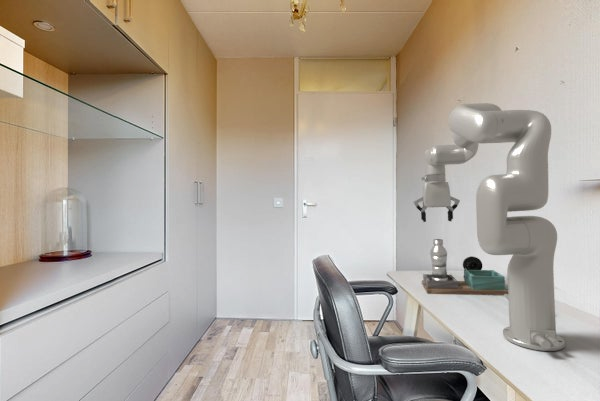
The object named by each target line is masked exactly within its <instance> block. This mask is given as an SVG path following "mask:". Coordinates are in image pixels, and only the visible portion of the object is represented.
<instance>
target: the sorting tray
mask: <svg viewBox="0 0 600 401" xmlns="http://www.w3.org/2000/svg"><path fill="white" fill-rule="evenodd" d="M422 277H423V280H421V284H422V287H423V288H424V290H425V292H426V293H427V295H428V294H429V295H431V294H432V295H434V294H436V295H471V296H474V295H475V296H503V295H504V294H508V289H506V278H505V276H504V275H502V274H501V273H499V272H497V271H496V270H494V269H481V270H464V269H463V279H464V280H457V278H455V277H454V276H453V275H452V274H447V278H448V281H436V280H432V273H431V274H429V273H428V274H423V275H422Z"/></svg>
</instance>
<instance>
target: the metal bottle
mask: <svg viewBox="0 0 600 401" xmlns="http://www.w3.org/2000/svg"><path fill="white" fill-rule="evenodd" d="M432 241H433V242H432V244H433V245H432V248H431V249H430V253H429V254H430V259H431V268H432V272H431V274H432V280H436V281H448V278H447V275H448V271H447V259H448V251H447V249H446V247H444V239H442V238H441V239H440V238H435V239H433V240H432Z"/></svg>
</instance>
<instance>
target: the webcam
mask: <svg viewBox="0 0 600 401" xmlns="http://www.w3.org/2000/svg"><path fill="white" fill-rule="evenodd" d="M462 268H463V271H464V270H483V263H482V261H481V259H480V258H479V257H476V256H468V257H466V258H465V259H464V260H463V262H462Z"/></svg>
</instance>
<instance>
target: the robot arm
mask: <svg viewBox="0 0 600 401" xmlns="http://www.w3.org/2000/svg"><path fill="white" fill-rule="evenodd" d="M447 123H448V127H449V129H450V131H451V132H452V133H451V137H452V140H453V142H454V144H437V145H433V146H432V147H431V148H428V149H426V150H425V151H424V176H422V177H421V181H424V183H423V187H422V197H420V198H418V199H416V200H414V201H413V204H414V205H415V207H416V209H417V210H418V211H419V212H420V214H421V215H420V216H421V217H420V218H421V220H422V222H423V223H427V213H426V210H427V209H428V208H446V209H447V221H448V222H453V219H454V210H456V208H457V207H458V206H459V203H460V202H461V200H460V199H458V198H456V197H453V196H452V195H451V191H450V186H449V185H450V184H449V182H448V181H446V180H447V179H446V166H448V165H462V164H465V163H467V162H468V161H470V160H472V159H473V158H474V157H475V156H476V155H477V152H478V151H479V150H478V149H479V144H504V143H506V144H507V143H514V144H513V146H512V147H511V148H510V150H509V151H508V154H507V156H506V173H503V174H501V173H500V174H493V175H488V176H486V177H485V178H483V179H482V180H481V181H480V183H479V185H478V187H477V190H476V196H475V198H476V199H475V203H476V204H475V206H476V208H475V209H476V210H475V211H476V212H475V213H476V236H477V242H478V245H479V247H480V248H481V250H482V251H484V252H485V253H486V254H488V255H491V256H508V255H510V256H511V255H512V256H511V257H510V260H509V262H508V265H507V269H506V272H507V273H506V274H507V276H506V278H507V291H508V299H507V300H508V317H509V320H508V321H509V325H508V326H507V327H504V328H503V329H502V335H503V338H505V340H507V341H508V342H510V343H513V344H514V345H517V346H519V347H523V348H525V349H530V350H535V351H543V352H556V351H561V350H563V349H564V348H565V346H566V344H565V343H566V342H565V340H564V338H562V337H561V336H560V335H558V334H557V327H556V326H557V321H556V302H555V301H556V300H555V282H554V280H555V277H554V276H555V274H554V272H555V271H554V260H555V255H556V254H555V253H556V248H557V243H558V233H557V229H556V226H555V225H554V224H553V222H551V221H550V220H548V218H544V217H541V216H536V215H519V216H516V215H515V216H508V212H509V213H511V212H529V211H535V210H536V211H537V210H540V209H542V208H544V207H545V205H546V204H547V203H548V199H549V150H550V142H551V138H552V125H551V121H550V119H549V118H548V117H547V116H546V115H545V113H543V112H540V111H537V110H530V109H508V110H507V109H506V110H503V109H502V108H501V107H500V106H498V105H497V104H493V103H488V102H487V103H484V102H483V103H480V102H479V103H464V104H463V103H462V104H459V105H457V106H455V107H454V108H453V109H452V110H451V112H450V114H449V116H448V120H447ZM452 202H454V203H453V205H451V204H452ZM419 203H422V207H421V206H420V205H419Z"/></svg>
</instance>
